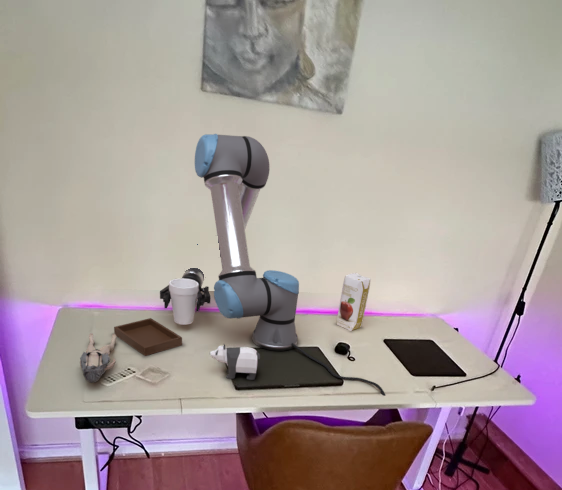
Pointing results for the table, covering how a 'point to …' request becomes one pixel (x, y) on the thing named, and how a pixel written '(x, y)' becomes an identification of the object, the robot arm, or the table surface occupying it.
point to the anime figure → (96, 360)
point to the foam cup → (183, 299)
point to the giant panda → (237, 360)
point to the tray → (148, 336)
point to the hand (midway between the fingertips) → (181, 305)
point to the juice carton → (353, 301)
